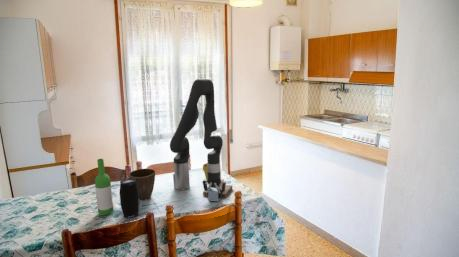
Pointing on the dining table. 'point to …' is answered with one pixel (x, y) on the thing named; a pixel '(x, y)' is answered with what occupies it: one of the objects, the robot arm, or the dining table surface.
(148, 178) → the plant pot
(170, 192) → the dining table surface
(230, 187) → the walnut board
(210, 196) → the slate blue block
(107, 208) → the wine bottle
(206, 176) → the plant pot
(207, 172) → the robot arm
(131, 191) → the portable speaker
